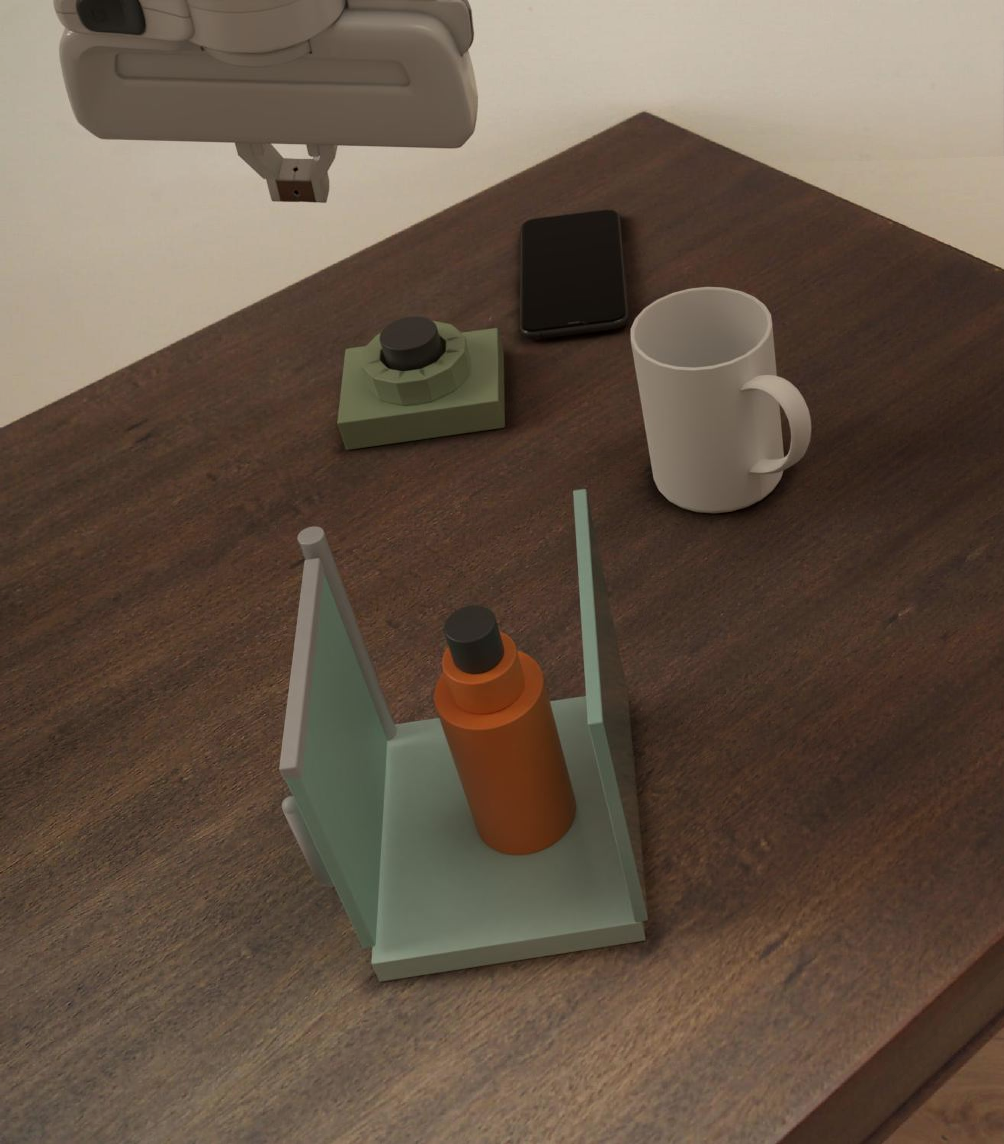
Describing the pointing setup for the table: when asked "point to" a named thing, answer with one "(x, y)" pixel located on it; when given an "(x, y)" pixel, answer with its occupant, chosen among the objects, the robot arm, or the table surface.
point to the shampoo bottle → (502, 736)
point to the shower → (450, 839)
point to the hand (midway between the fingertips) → (301, 195)
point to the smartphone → (572, 275)
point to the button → (411, 343)
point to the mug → (714, 399)
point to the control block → (423, 391)
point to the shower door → (334, 758)
